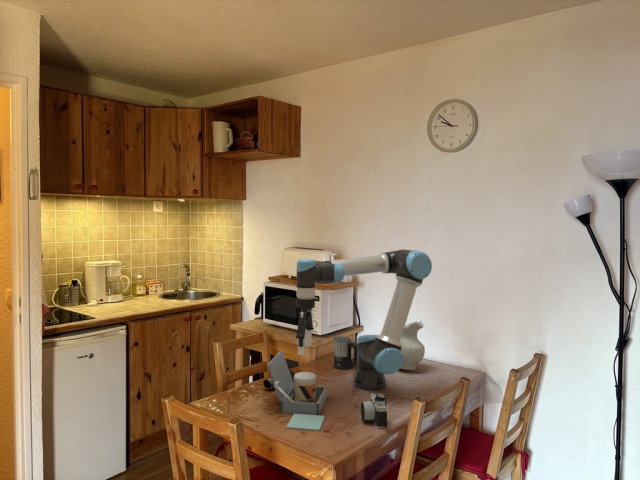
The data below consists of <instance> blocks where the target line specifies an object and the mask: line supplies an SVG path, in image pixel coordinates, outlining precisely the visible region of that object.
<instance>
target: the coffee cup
mask: <svg viewBox="0 0 640 480" xmlns="http://www.w3.org/2000/svg"><path fill="white" fill-rule="evenodd" d="M317 378H318V377H317V375H316V374H315V373H314V372H309V371H303V372H302V371H301V372H297V373H295V374H294V378H293V383H294V390H295V396H294V401H295V402H308V403H316V402H315V401H316V397H315V392H316V386H317Z"/></svg>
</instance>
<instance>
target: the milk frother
mask: <svg viewBox="0 0 640 480" xmlns="http://www.w3.org/2000/svg"><path fill="white" fill-rule="evenodd" d="M351 340H352V337H349V336H344V335H343V336H336V337H333V367H334V368H335V369H337V370H348V369H351V368H352V365H355V366H357V342H354V341H351ZM352 348H353V358H352Z"/></svg>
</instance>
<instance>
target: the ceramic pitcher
mask: <svg viewBox="0 0 640 480" xmlns="http://www.w3.org/2000/svg"><path fill="white" fill-rule="evenodd" d="M423 328H424V323H423V322H422V321H413V322H410V323H408V324H405V327H404V330H403V333H402V336H401V340H400V342H401V344H402V349H401V354H402V357H403V362H402V365H401V367H400V369H401V370H406V371H415V370H416V369H417V364H419V363H420V362H421V361H422V360H423V359H424V357H425V353H426V352H425V351H426V349H425V348H426V347H425V345H424V344H423V343H422V342H421V341H420V340H419V339H418V333H419V330H421V329H423ZM400 369H399V370H400Z"/></svg>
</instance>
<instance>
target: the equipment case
mask: <svg viewBox="0 0 640 480" xmlns="http://www.w3.org/2000/svg"><path fill="white" fill-rule="evenodd" d="M266 366H267V370H268V372H269V375H270V378H272V381H273V384H274V387H273V388H274V390H275V394H277V399H278V401H279V403H280V413H281V414H289V415H291V414H292V415H293V414H306V415H319V416H320V414H321V412H322V409H323V407H324V405H325V403H326V400H327V399H328V386H323V385H316V392H315V398H318V400H317V402H315V403H308V402H295V400H293V398H295V390H294V379H293V380H292V377H291V374H290V372H289V370H290V369H289V367H288V363H287V360H286V357H285V354H284V352H283V350H280V351H278V353H277V354H276V355H275V356H274V357H273V358H271V360H270V361H269V362H268V363H267V364H266Z"/></svg>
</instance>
